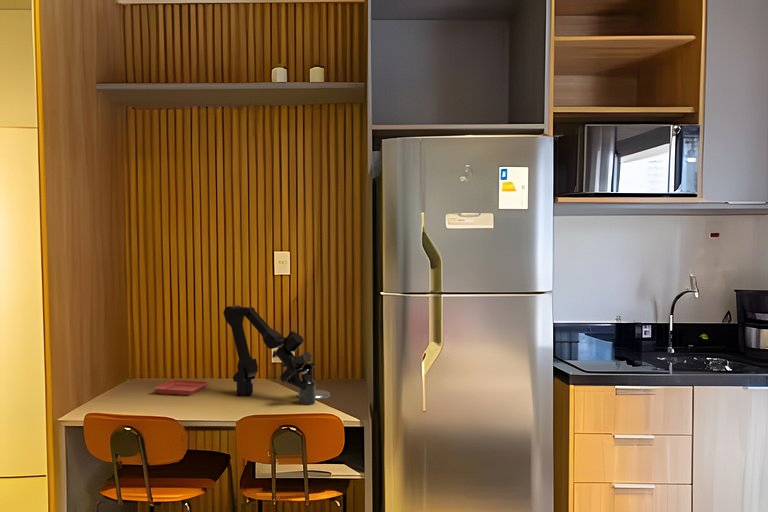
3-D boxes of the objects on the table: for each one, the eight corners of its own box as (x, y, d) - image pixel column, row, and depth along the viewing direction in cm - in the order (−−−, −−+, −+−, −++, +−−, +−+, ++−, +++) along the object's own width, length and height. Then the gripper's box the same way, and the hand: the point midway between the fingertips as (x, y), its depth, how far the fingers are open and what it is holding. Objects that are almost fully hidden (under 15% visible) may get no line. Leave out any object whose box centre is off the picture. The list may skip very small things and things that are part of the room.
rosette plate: (297, 400, 275) (297, 397, 275) (297, 392, 289) (297, 390, 289) (330, 399, 277) (330, 396, 277) (329, 391, 291) (329, 389, 291)
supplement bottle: (308, 400, 275) (308, 372, 274) (318, 403, 270) (318, 374, 269) (295, 403, 270) (295, 374, 269) (305, 406, 265) (305, 376, 265)
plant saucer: (210, 388, 299) (210, 381, 299) (191, 397, 281) (191, 389, 281) (173, 386, 302) (173, 379, 302) (152, 395, 284) (152, 388, 284)
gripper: (285, 349, 263) (308, 379, 258) (311, 343, 279) (333, 371, 274) (270, 367, 267) (292, 397, 262) (296, 360, 283) (318, 388, 278)
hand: (309, 387), depth 269 cm, fingers closed on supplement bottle, 7 cm apart
